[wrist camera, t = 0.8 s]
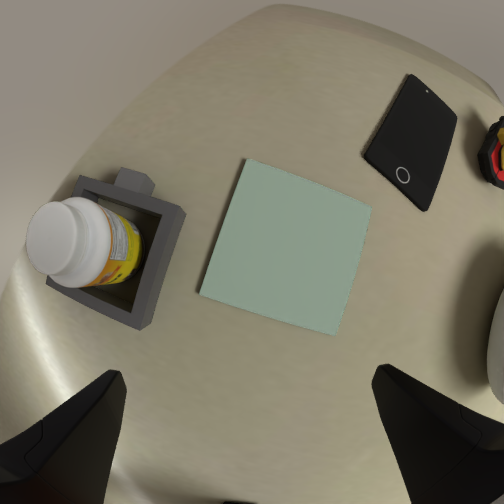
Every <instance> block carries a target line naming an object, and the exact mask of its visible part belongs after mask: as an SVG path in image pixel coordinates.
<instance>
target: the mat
mask: <svg viewBox="0 0 504 504" xmlns="http://www.w3.org/2000/svg"><path fill="white" fill-rule="evenodd" d="M371 210H372V207H371V206H369V205H367V204H365V203H363V202H360V201H358V200H356V199H353V198H351V197H349V196H347V195H344V194H342V193H339V192H337V191H335V190H332V189H330V188H327V187H325V186H322V185H320V184H317V183H315V182H312V181H310V180H307V179H305V178H302V177H299V176H297V175H294V174H291V173H289V172H286V171H283V170H280V169H277V168H275V167H272V166H269V165H266V164H263V163H260V162H257V161H254V160H251V159H248V158H247V160H246V163H245V166H244V168H243V171H242V173H241V176H240V179H239V181H238V184H237V187H236V190H235V192H234V195H233V198H232V200H231V203H230V206H229V209H228V211H227V214H226V217H225V220H224V223H223V225H222V228H221V231H220V234H219V237H218V240H217V243H216V246H215V248H214V251H213V254H212V257H211V260H210V263H209V266H208V269H207V272H206V275H205V278H204V281H203V284H202V287H201V290H200V293H199V295H202V296H205V297H208V298H211V299H214V300H216V301H219V302H222V303H225V304H228V305H231V306H234V307H238V308H241V309H244V310H247V311H250V312H253V313H256V314H260V315H263V316H266V317H269V318H273V319H276V320H279V321H283V322H286V323H289V324H293V325H296V326H300V327H303V328H307V329H311V330H314V331H318V332H321V333H325V334H329V335H333V336H336V333H337V330H338V327H339V324H340V322H341V319H342V316H343V313H344V310H345V307H346V303H347V300H348V297H349V294H350V291H351V287H352V284H353V281H354V277H355V274H356V270H357V267H358V263H359V260H360V256H361V252H362V248H363V244H364V240H365V236H366V232H367V228H368V223H369V219H370V215H371Z"/></svg>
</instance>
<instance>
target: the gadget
mask: <svg viewBox="0 0 504 504" xmlns="http://www.w3.org/2000/svg"><path fill="white" fill-rule="evenodd" d="M478 158H479V164H480V169H481V173H482V174H483V176H484V177H485V179H486V181H487V182H490V183H492V185H494V186H496V187H499V188H501V189H503V190H504V116H501V117H500V118H499V121H498V122H496V123H494V124H492V125H491V127H490V128H489V131H488V133H487V135H486V139H485V142H484V144H483V146H482V148H481V150H480V151H479V153H478Z"/></svg>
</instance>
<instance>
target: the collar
mask: <svg viewBox="0 0 504 504" xmlns="http://www.w3.org/2000/svg"><path fill="white" fill-rule="evenodd" d="M154 187H155V184H154V183H153V182H152V180H151V179H150V178H149V177H148V176H147V175H146V174H144V173H140V172H137V171H133V170H130V169H126V168H123V167H121V169H120V171H119V173H118V175H117V178H116V180H115V183H114V185H112V184H108V183H105V182H102V181H98V180H95V179H92V178H88V177H85V176H82V175H80V176H79V178H78V181H77V183H76V186H75V188H74V191H73V193H72V196H71V198H72V197H82V198H86V199H88V200H91V201H93V202H95V203H97V201H98V199H99V198H102V199H105V200H108V201H111V202H114V203H116V204H119V205H122V206H125V207H128V208H131V209H134V210H137V211H140V212H143V213H146V214H149V215H152V216H155V217H158V218H161V221H160V223H159V226H158V229H157V232H156V234H155V237H154V240H153V243H152V246H151V249H150V252H149V255H148V258H147V261H146V264H145V267H144V271H143V274H142V277H141V280H140V284H139V287H138V291H137V294H136V298H135V301H134V304H132V303H130V302H127V301H125V300H123V299H120V298H118V297H116V296H114V295H111V294H109V293H107V292H105V291H103V290H100V289H98V288H96V287H94V286H87V287H79V288H69V287H65V286H62V285H60V284H58V283H56V282H55V281H54V280H53V279H51V278H50V277H49V275H48V276H47V280H46V284H47V285H48V286H50V287H52V288H54V289H55V290H57V291H59V292H61V293H62V294H64V295H66V296H68V297H70V298H72V299H74V300H76V301H77V302H79V303H81V304H83V305H85V306H87V307H89V308H91V309H93V310H95V311H97V312H99V313H102V314H104V315H106V316H108V317H110V318H112V319H114V320H117V321H119V322H121V323H123V324H125V325H128V326H130V327H132V328H135V329H137V330H139V331H140V330H142V329H143V328H145V327H146V326H148V325H149V324H151V321H152V318H153V314H154V311H155V307H156V304H157V300H158V297H159V294H160V290H161V287H162V284H163V281H164V278H165V275H166V271H167V268H168V265H169V262H170V259H171V256H172V253H173V250H174V247H175V244H176V242H177V239H178V236H179V233H180V230H181V227H182V225H183V222H184V219H185V217H186V213H185V212H184V211H183V209H182V208H181V207H180V206H178V205H175V204H172V203H169V202H166V201H163V200H160V199H156V198H153V197H151V194H152V192H153V189H154Z"/></svg>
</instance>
